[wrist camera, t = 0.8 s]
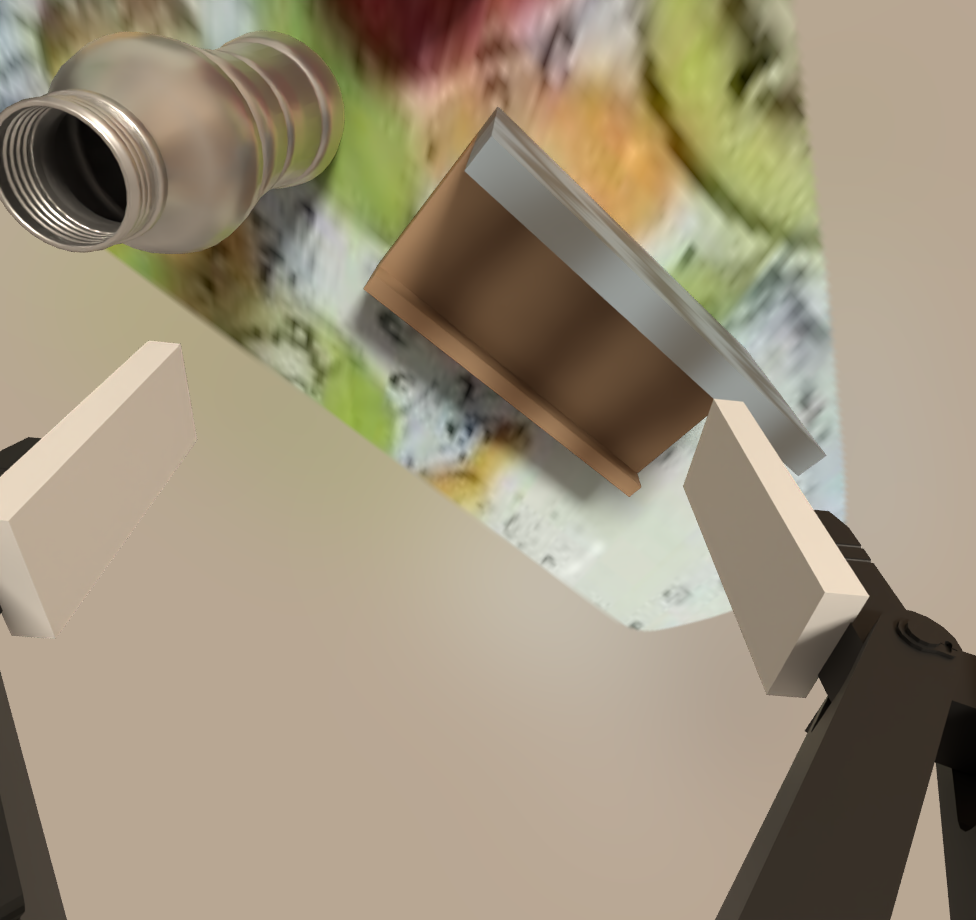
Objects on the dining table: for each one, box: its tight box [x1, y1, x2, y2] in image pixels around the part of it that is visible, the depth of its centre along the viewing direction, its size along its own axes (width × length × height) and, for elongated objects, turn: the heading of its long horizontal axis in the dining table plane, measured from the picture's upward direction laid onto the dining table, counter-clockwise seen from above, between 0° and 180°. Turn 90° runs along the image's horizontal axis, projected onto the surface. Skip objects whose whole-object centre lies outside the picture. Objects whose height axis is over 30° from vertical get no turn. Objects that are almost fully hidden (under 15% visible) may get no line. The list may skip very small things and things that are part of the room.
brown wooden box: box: [364, 107, 826, 497], centre depth 33 cm, size 20×10×12 cm, turn 50°
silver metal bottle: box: [0, 30, 345, 254], centre depth 25 cm, size 6×7×20 cm
